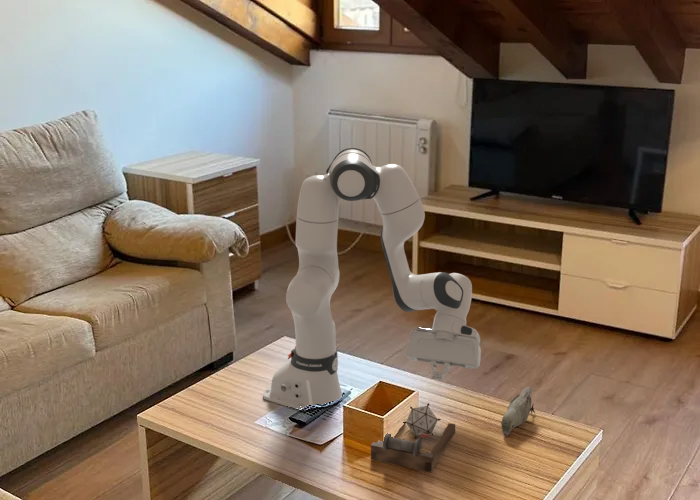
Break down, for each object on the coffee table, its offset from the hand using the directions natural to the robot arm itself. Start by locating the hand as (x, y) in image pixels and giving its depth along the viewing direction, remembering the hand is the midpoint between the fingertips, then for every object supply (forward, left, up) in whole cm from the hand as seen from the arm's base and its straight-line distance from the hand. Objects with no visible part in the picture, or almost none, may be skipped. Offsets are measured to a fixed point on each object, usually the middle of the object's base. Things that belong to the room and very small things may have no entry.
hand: (437, 378), depth 223 cm
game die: (0, -12, -11) cm, 16 cm away
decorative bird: (+21, +3, -11) cm, 24 cm away
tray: (0, -18, -11) cm, 21 cm away
